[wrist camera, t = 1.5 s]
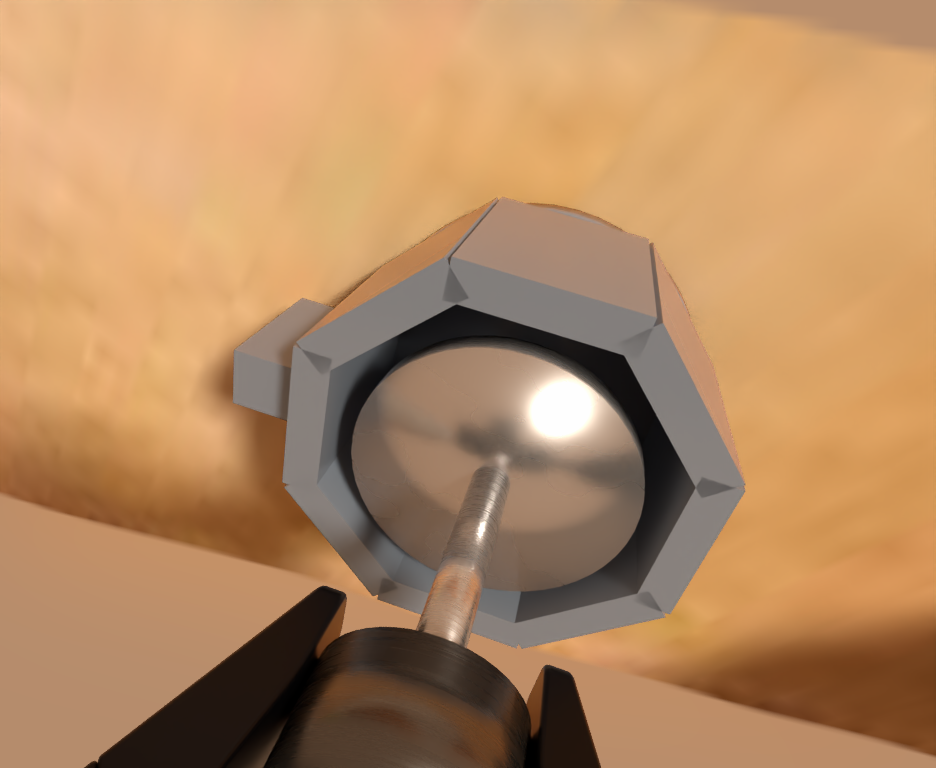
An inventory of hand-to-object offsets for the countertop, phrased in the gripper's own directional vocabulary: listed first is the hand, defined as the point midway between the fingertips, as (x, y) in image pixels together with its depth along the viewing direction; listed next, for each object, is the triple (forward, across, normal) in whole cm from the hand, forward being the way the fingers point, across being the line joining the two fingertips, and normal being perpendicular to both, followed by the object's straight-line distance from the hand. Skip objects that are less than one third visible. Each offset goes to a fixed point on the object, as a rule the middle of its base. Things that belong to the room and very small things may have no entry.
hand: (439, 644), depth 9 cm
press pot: (+9, 0, 0) cm, 9 cm away
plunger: (+4, 0, 0) cm, 4 cm away
